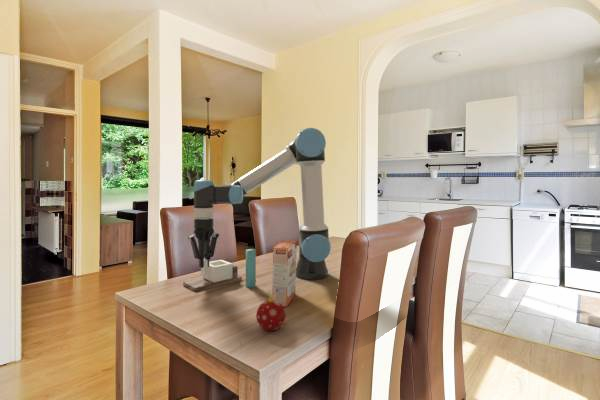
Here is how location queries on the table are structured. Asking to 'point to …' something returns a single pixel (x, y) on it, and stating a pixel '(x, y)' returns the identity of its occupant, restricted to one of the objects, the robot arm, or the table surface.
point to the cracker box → (284, 272)
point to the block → (219, 271)
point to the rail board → (205, 284)
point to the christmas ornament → (270, 314)
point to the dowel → (250, 268)
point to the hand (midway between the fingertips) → (204, 274)
